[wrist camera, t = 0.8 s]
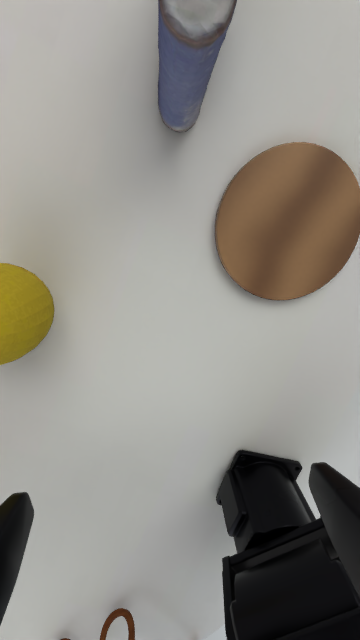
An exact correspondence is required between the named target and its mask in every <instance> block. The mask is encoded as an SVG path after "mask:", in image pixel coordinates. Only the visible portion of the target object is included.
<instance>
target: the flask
mask: <svg viewBox="0 0 360 640" xmlns="http://www.w3.org/2000/svg"><path fill="white" fill-rule="evenodd" d="M236 2H237V0H158V5H159V25H158V48H159V81H158V105H159V110H160V114H161V117H162V119H163V122H164V123H165V124H166V125H167V126H168V127H169V128H171V129H172V130H175V131H177V132H180V131H185V132H186V131H187V130H188V129H190V128H191V127H192V126H193V125H194V124H195V122H196V120H197V118H198V116H199V113H200V107H201V104H202V101H203V98H204V95H205V92H206V89H207V85H208V82H209V79H210V76H211V73H212V70H213V67H214V64H215V62H216V59H217V56H218V53H219V50H220V47H221V45H222V43H223V41H224V39H225V36H226V31H227V29H228V27H229V25H230V22H231V20H232V16H233V13H234V10H235V6H236Z"/></svg>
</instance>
